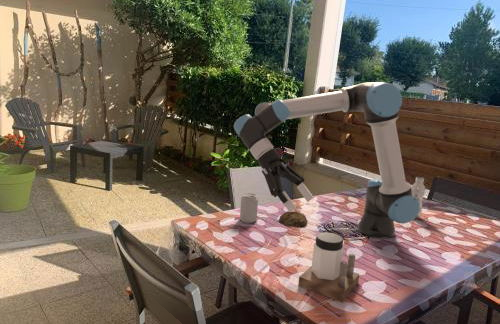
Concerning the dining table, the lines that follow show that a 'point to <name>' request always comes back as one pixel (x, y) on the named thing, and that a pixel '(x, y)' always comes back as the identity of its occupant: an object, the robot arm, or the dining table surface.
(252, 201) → the can
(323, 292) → the peg stand
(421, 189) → the pale carved statuette
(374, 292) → the dining table surface
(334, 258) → the jar
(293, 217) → the bread roll
